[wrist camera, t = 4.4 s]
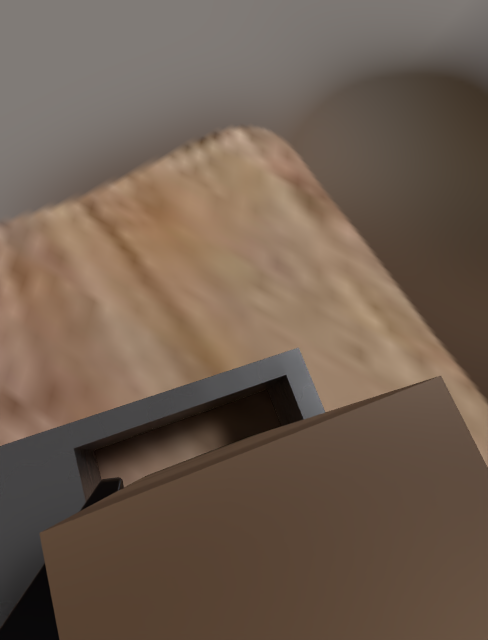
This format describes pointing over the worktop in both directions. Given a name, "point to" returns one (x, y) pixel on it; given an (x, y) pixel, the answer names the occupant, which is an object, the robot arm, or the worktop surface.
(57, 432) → the rail
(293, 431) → the peg
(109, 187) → the worktop surface
